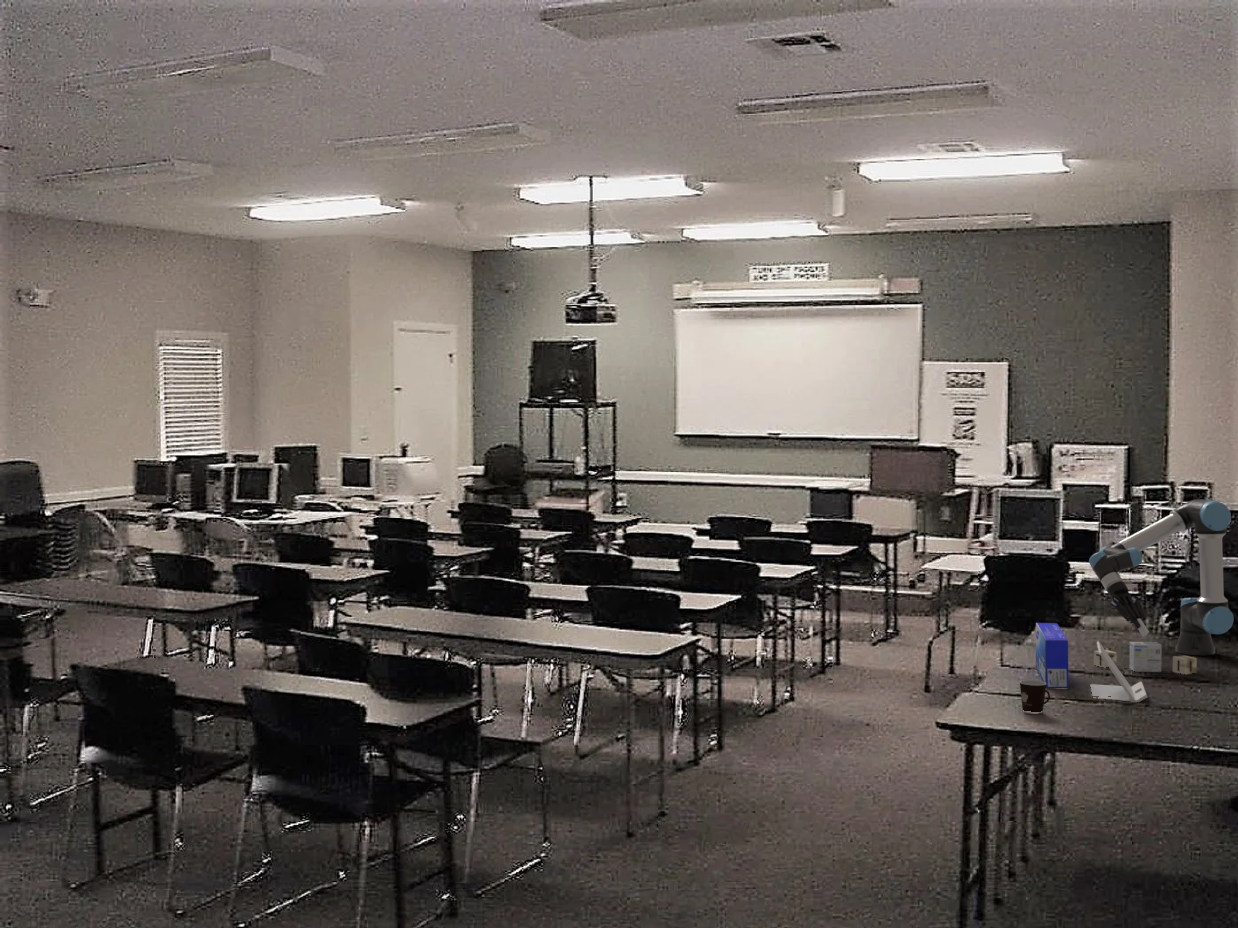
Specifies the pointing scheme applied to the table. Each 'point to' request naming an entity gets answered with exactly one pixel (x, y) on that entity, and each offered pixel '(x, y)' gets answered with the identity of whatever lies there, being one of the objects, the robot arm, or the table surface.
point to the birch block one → (1184, 664)
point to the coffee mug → (1033, 695)
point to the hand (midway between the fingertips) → (1145, 633)
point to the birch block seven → (1099, 660)
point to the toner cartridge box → (1052, 655)
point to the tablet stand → (1117, 692)
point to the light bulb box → (1145, 656)
